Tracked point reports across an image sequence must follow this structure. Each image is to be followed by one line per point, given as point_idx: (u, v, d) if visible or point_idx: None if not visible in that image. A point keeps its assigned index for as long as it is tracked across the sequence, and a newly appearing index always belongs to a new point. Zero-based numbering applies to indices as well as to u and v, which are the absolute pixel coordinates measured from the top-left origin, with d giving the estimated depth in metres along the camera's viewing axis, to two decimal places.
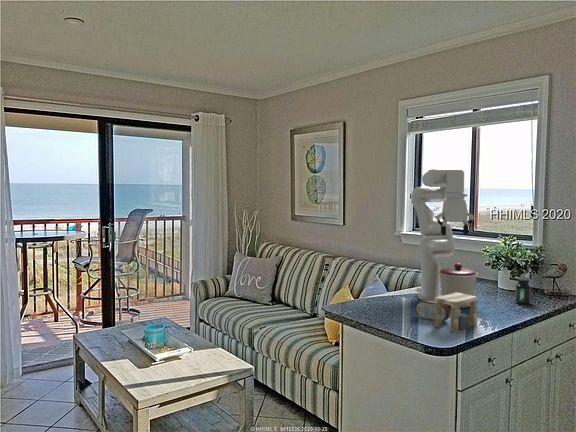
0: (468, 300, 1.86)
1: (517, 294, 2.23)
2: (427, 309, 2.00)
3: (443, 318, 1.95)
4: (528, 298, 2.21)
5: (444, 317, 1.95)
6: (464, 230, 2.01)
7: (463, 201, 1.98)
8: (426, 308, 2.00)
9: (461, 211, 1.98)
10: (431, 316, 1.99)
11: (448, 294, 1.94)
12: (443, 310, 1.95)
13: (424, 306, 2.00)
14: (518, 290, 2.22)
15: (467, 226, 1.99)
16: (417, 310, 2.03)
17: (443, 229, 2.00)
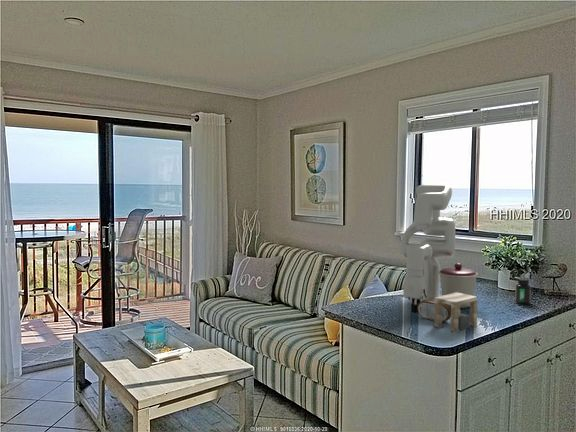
0: (468, 300, 1.86)
1: (517, 294, 2.23)
2: (428, 309, 1.99)
3: (445, 318, 1.94)
4: (528, 298, 2.21)
5: (446, 317, 1.94)
6: None
7: None
8: (428, 308, 1.99)
9: None
10: (433, 316, 1.98)
11: (448, 294, 1.94)
12: (445, 310, 1.94)
13: (426, 306, 2.00)
14: (518, 290, 2.22)
15: None
16: (419, 310, 2.02)
17: None
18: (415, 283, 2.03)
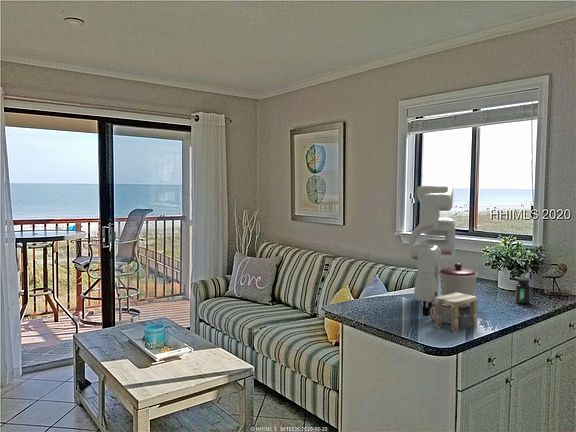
0: (468, 300, 1.86)
1: (517, 294, 2.23)
2: None
3: None
4: (528, 298, 2.21)
5: None
6: None
7: None
8: None
9: None
10: (445, 319, 1.93)
11: (448, 294, 1.94)
12: (458, 313, 1.89)
13: None
14: (518, 290, 2.22)
15: None
16: (431, 313, 1.97)
17: None
18: (427, 286, 1.98)
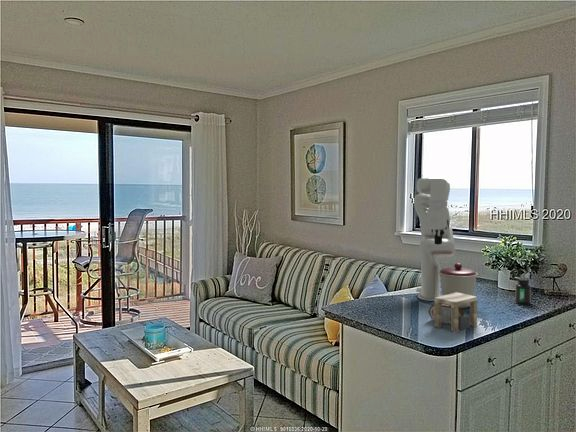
0: (468, 300, 1.86)
1: (517, 294, 2.23)
2: None
3: None
4: (528, 298, 2.21)
5: None
6: None
7: None
8: None
9: None
10: (445, 320, 1.93)
11: (448, 294, 1.94)
12: (458, 314, 1.89)
13: None
14: (518, 290, 2.22)
15: None
16: (431, 314, 1.97)
17: None
18: (439, 214, 2.05)
